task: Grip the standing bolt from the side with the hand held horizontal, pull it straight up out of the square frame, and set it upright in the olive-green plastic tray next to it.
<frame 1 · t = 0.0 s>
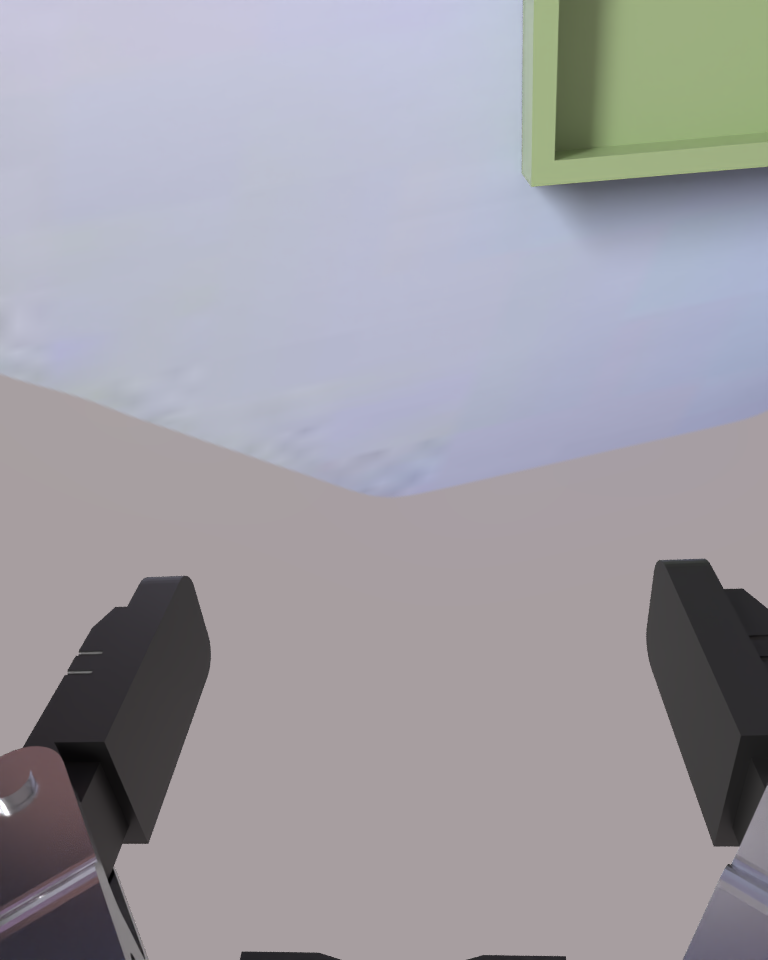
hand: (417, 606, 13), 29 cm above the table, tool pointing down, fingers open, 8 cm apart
tray: (683, 1, 32), on the table
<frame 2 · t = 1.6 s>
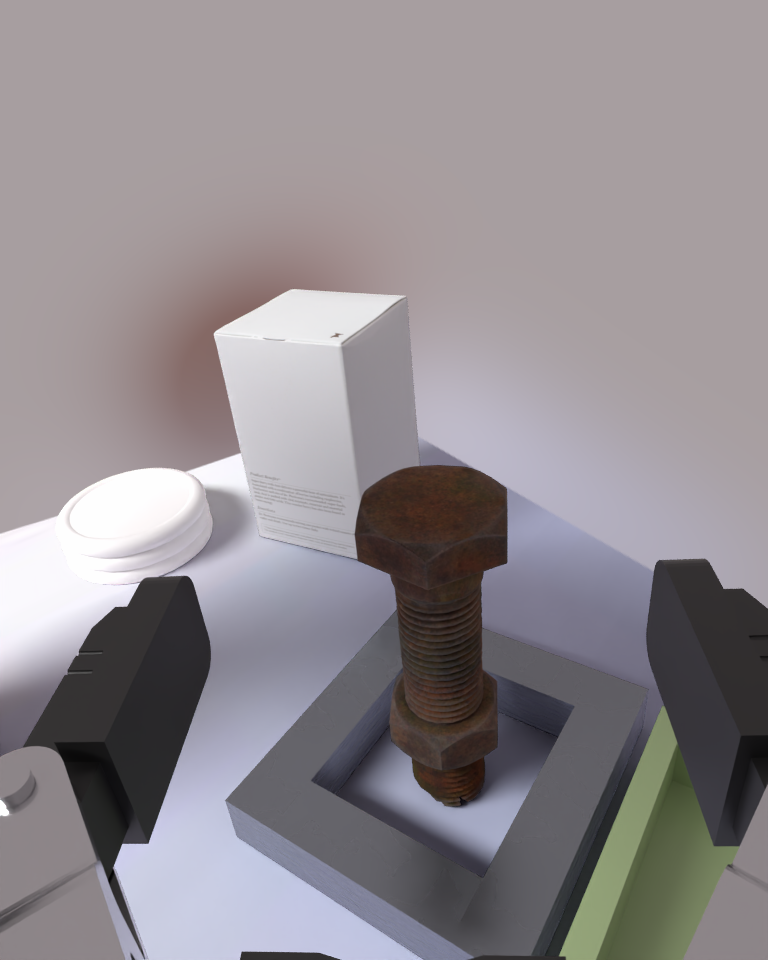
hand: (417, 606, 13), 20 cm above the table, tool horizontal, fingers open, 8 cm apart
bolt: (449, 781, 33), resting in square frame
white round disc: (144, 545, 51), on the table
square frame: (449, 778, 32), on the table
supplement box: (343, 517, 52), on the table
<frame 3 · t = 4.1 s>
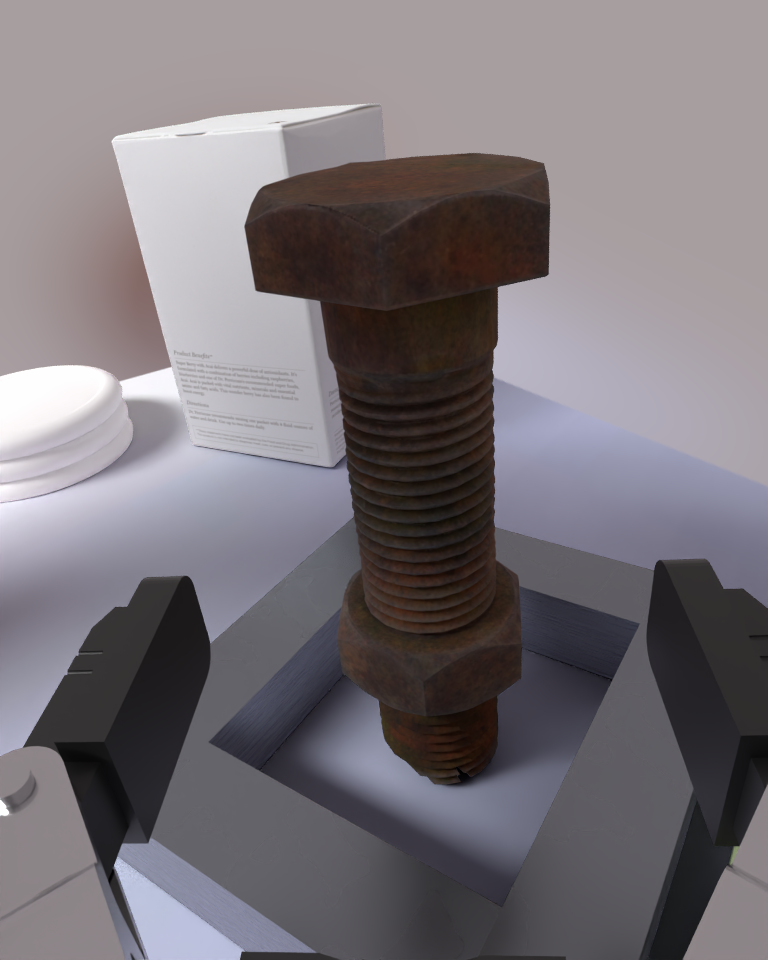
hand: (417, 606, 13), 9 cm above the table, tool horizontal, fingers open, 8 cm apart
bolt: (441, 747, 20), resting in square frame
white round disc: (42, 461, 39), on the table
square frame: (441, 742, 20), on the table
supplement box: (303, 423, 40), on the table
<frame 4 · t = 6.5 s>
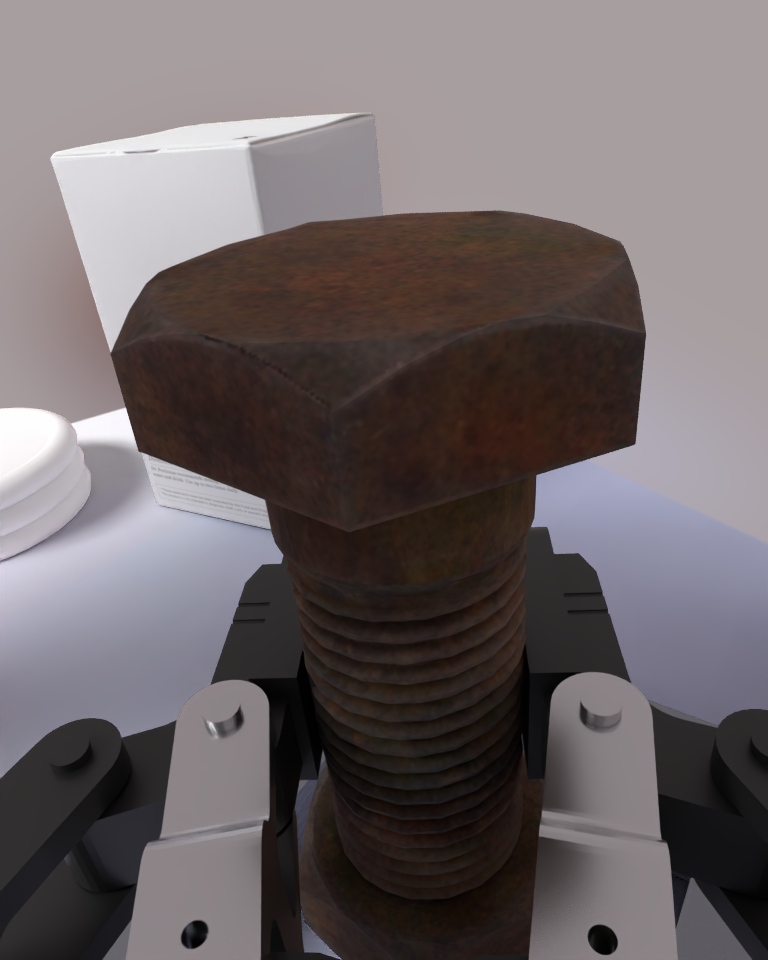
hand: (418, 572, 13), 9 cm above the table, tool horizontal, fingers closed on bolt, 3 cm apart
supplement box: (286, 477, 35), on the table
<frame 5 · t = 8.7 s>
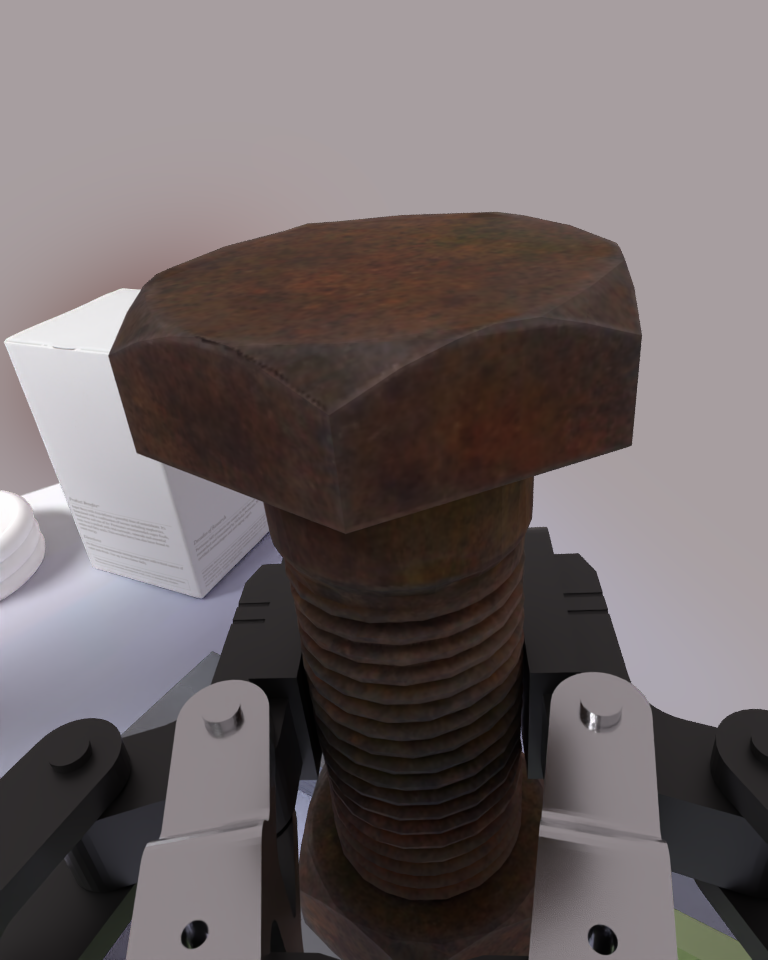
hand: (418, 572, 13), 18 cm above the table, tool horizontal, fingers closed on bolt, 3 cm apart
square frame: (219, 880, 27), on the table
supplement box: (191, 544, 46), on the table
when the fingers open (11 cm above the table, at t = 11.0 s): bolt drops 1 cm, resting on tray.
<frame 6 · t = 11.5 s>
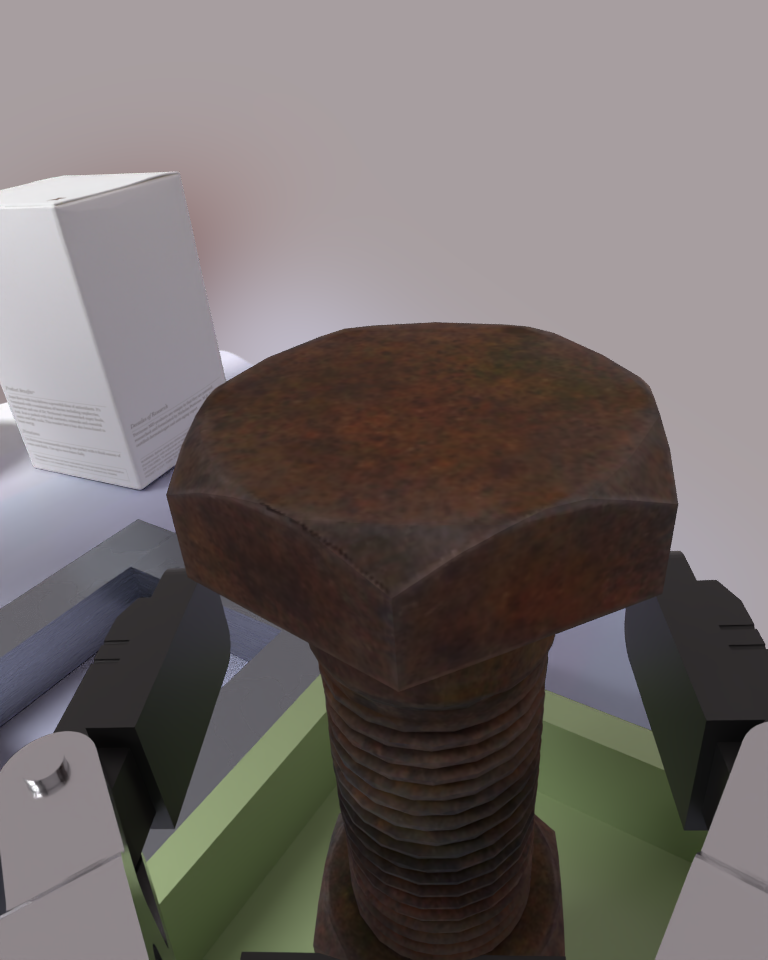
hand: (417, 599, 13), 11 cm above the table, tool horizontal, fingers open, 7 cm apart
square frame: (122, 726, 25), on the table
supplement box: (139, 447, 44), on the table
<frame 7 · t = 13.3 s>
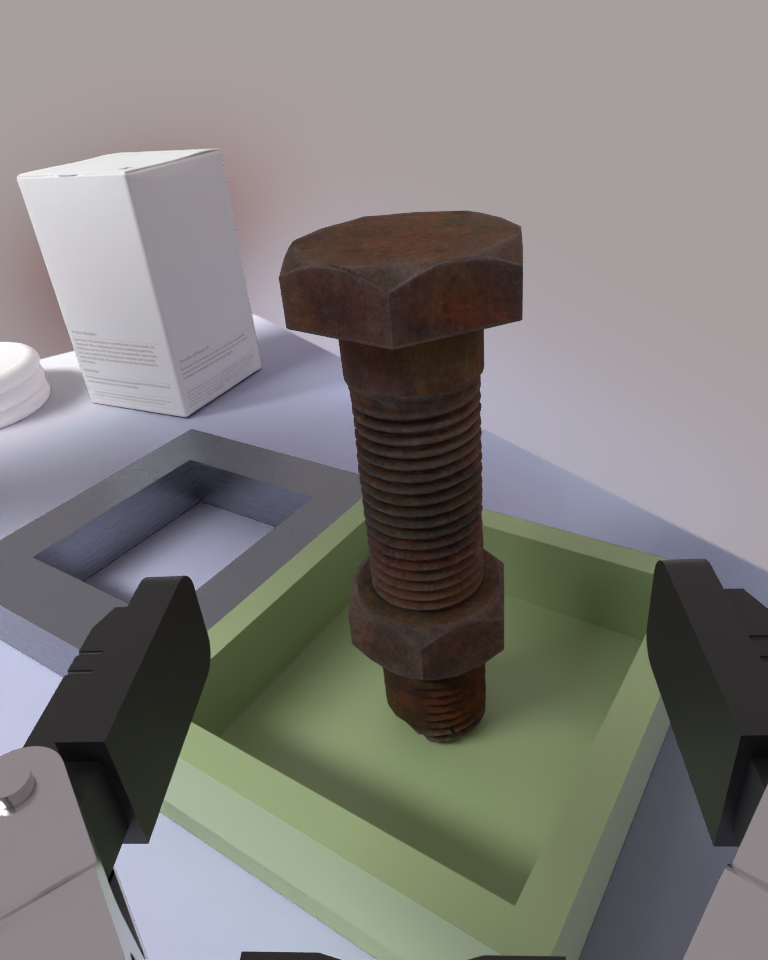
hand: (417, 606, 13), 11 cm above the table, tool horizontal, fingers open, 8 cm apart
bolt: (437, 712, 24), point 1 cm above the table, touching tray
tray: (438, 726, 24), on the table
square frame: (190, 571, 33), on the table
supplement box: (180, 387, 52), on the table
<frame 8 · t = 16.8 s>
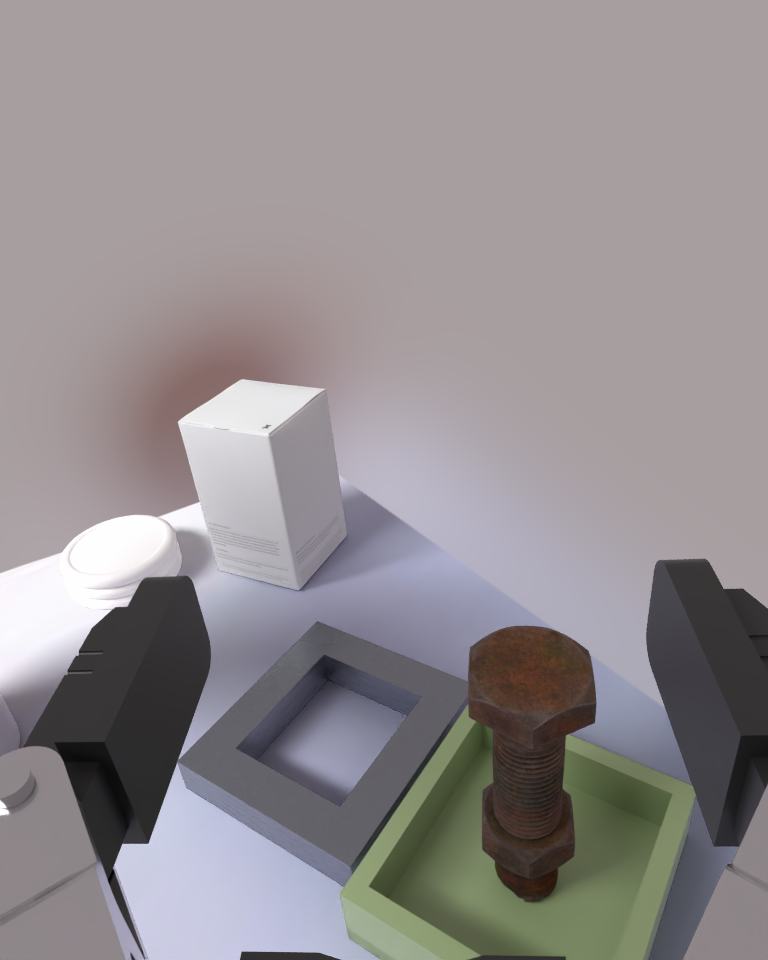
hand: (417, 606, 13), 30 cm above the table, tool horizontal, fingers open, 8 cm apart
bolt: (525, 877, 38), point 1 cm above the table, touching tray
white round disc: (128, 577, 65), on the table
tray: (525, 883, 38), on the table
square frame: (335, 748, 47), on the table
supplement box: (284, 554, 66), on the table
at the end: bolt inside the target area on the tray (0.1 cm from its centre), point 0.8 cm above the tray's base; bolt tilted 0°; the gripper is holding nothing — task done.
